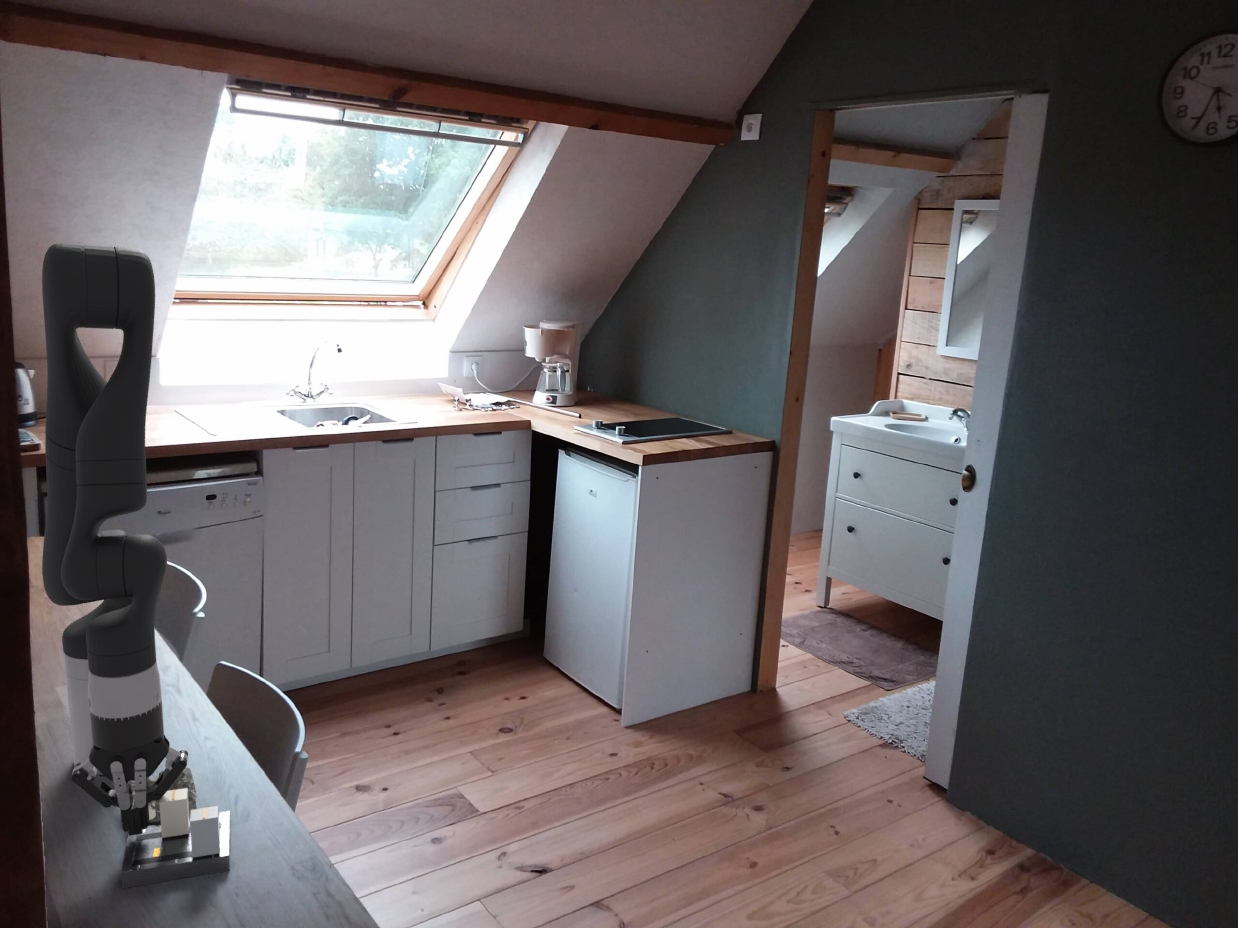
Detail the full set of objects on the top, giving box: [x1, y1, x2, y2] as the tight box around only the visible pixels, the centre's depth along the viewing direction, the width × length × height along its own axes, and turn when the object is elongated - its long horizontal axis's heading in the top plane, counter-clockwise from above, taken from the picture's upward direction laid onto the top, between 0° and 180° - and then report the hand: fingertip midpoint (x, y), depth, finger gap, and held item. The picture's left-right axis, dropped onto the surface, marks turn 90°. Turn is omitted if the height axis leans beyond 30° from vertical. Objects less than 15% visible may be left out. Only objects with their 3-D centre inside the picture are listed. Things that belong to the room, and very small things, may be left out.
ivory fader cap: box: [159, 788, 190, 838], centre depth 121 cm, size 2×3×5 cm
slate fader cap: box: [190, 805, 220, 858], centre depth 117 cm, size 2×3×5 cm
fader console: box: [120, 810, 232, 889], centre depth 120 cm, size 10×12×2 cm
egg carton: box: [131, 767, 198, 823], centre depth 128 cm, size 11×8×4 cm
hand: (136, 830), depth 120 cm, fingers closed
